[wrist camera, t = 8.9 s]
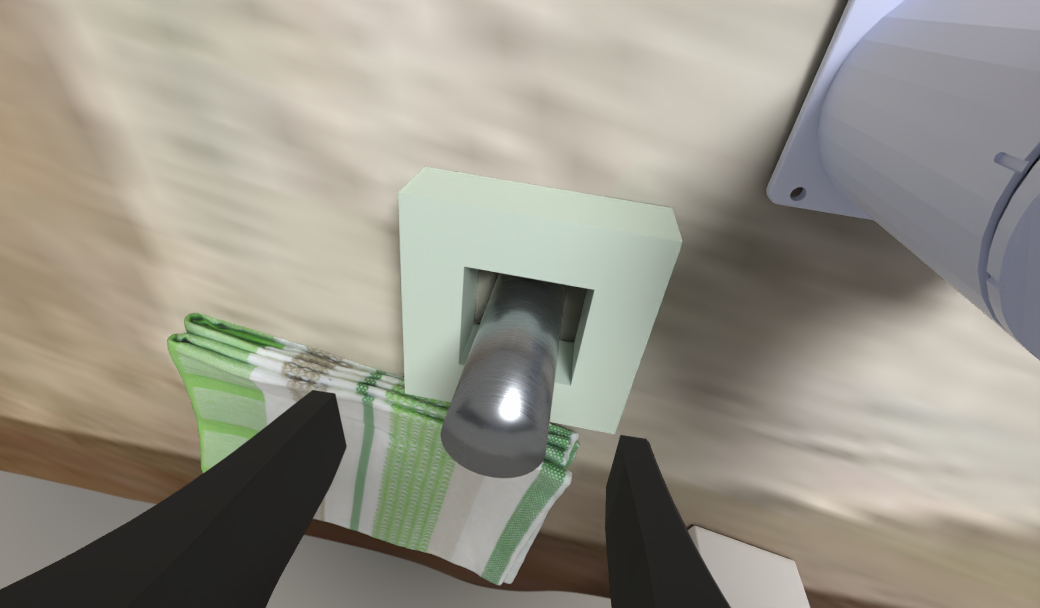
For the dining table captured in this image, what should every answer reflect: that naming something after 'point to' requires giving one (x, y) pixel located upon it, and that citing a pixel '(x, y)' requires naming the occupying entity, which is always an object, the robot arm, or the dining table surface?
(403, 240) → the socket
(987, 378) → the dining table surface
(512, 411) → the peg
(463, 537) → the dish towel
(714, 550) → the milk carton
